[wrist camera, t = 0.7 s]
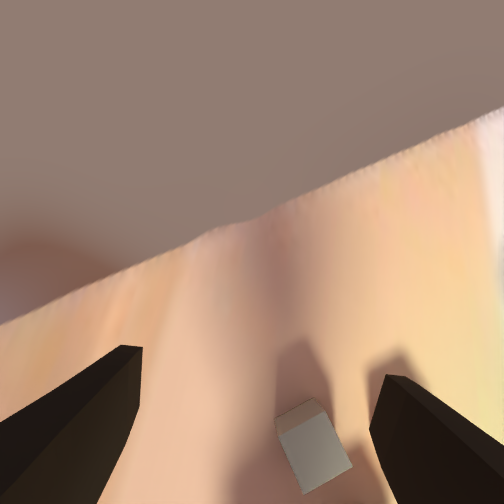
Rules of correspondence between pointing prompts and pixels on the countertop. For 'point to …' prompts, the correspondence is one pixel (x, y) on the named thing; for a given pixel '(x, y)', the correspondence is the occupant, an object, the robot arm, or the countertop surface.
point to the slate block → (311, 445)
